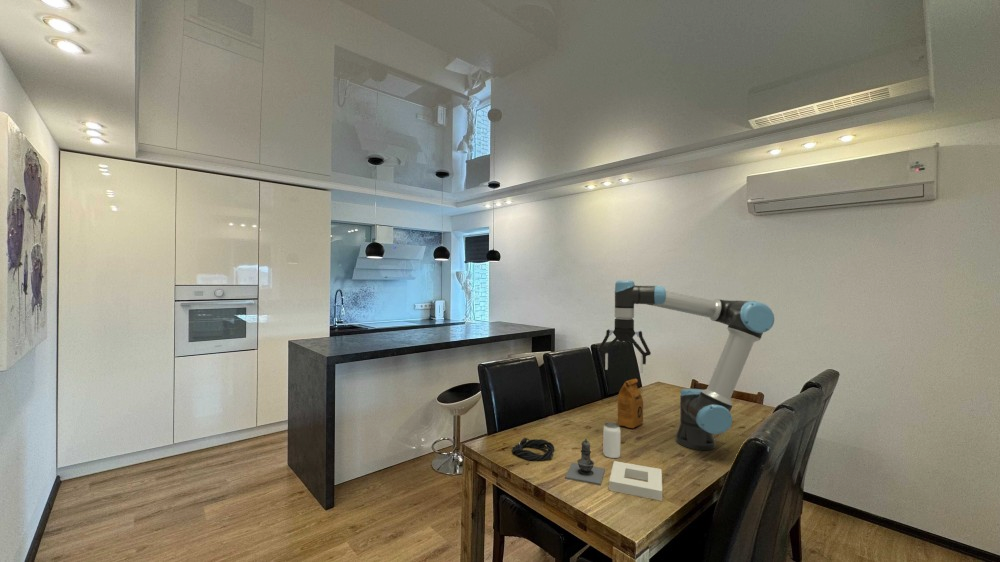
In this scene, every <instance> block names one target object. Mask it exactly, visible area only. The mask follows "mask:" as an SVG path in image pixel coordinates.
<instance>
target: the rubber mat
mask: <svg viewBox="0 0 1000 562" xmlns="http://www.w3.org/2000/svg"><path fill="white" fill-rule="evenodd" d="M579 469H580V468H579V465H578V463H577V462H571V464H570V466H569V467H568V469H567V472H566V473H565V477H564V479H567V480H570V481H576V482H581V483H586V484H590V485H597V486H602V481H603V478H604V475H605V472H606V470H605V469H606V468H605V467H599V466H594V465H593V468H592V469H591V471H593V475H591V476H583V475H581V474H579V473H578V470H579Z"/></svg>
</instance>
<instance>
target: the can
mask: <svg viewBox="0 0 1000 562" xmlns="http://www.w3.org/2000/svg"><path fill="white" fill-rule="evenodd" d="M602 434H603V437H602V439H603V441H602V442H603V443H602V445H603V446H602V452H603V453H602V454H603V456H605V457H606V458H609V459H619V458H620V457H621V427H620V426H619V425H618V423H616V422H609V421H608V422H605V423H604V426H603V433H602Z"/></svg>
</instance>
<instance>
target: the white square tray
mask: <svg viewBox="0 0 1000 562" xmlns="http://www.w3.org/2000/svg"><path fill="white" fill-rule="evenodd" d="M662 473H663V472H662V468H657V467H651V466H647V465H646V466H645V465H639V464H633V463H630V462H629V463H628V462H622V461H617V460H613V464H612V467H611V471H610V476H609V480H608V482H609V483H608V484H609V485H608V490H609V491H612V492H616V493H619V494H620V493H622V494H626V495H631V496H635V497H641V498H647V499H651V500H654V501H655V500H656V501H661V502H663V478H662V477H663V476H662Z"/></svg>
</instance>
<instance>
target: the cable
mask: <svg viewBox="0 0 1000 562" xmlns="http://www.w3.org/2000/svg"><path fill="white" fill-rule="evenodd" d="M526 447H529V448H532V449H536V450H539V449H540V450H546V452H544V453H543V454H538V453H536V452H533V451H531V450H528V449H523V448H526ZM511 449H512V451H511V452H512V453H513V454H515V455H517V456H520V457H522V459H525V460H528V461H529V460H530V461H549V460H551V458H552V457H553V454H554V453H555V446H554V444H553V443H552V442H550V441H548V440H546V439H541V438H540V439H538V438H537V439H536V438H535V439H529V438H527V437H524V438H523V439H521V441H520V442H519V441H518V443H517V444H516V445H514V446H512V448H511Z"/></svg>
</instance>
